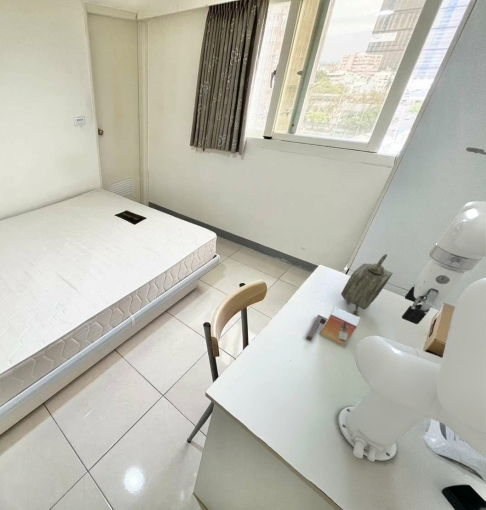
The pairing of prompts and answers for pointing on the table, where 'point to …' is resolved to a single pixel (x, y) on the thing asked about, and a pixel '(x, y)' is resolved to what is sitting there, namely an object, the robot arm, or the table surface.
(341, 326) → the small box
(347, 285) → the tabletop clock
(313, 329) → the corner stop
